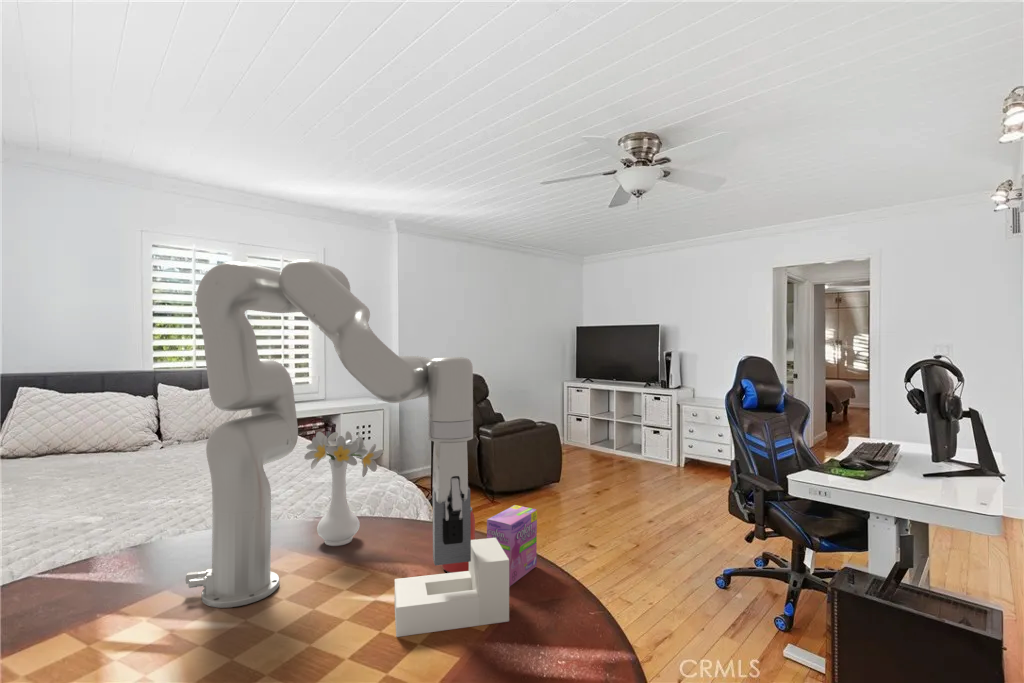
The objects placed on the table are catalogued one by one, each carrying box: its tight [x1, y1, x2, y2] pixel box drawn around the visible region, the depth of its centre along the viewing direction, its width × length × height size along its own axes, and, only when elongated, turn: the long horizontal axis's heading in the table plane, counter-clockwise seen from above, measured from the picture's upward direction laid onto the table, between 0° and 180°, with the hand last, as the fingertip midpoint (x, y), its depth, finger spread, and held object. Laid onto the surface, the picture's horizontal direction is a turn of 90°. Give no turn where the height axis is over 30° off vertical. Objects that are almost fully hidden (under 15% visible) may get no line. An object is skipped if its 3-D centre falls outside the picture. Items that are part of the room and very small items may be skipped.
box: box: [486, 504, 538, 587], centre depth 100 cm, size 10×6×12 cm, turn 148°
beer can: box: [441, 506, 476, 573], centre depth 103 cm, size 7×7×12 cm
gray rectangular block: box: [432, 486, 471, 566], centre depth 85 cm, size 6×3×12 cm, turn 105°
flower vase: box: [304, 430, 384, 547], centre depth 117 cm, size 13×18×25 cm
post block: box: [394, 537, 510, 638], centre depth 85 cm, size 18×10×10 cm, turn 105°
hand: (451, 538), depth 85 cm, fingers closed on gray rectangular block, 3 cm apart
